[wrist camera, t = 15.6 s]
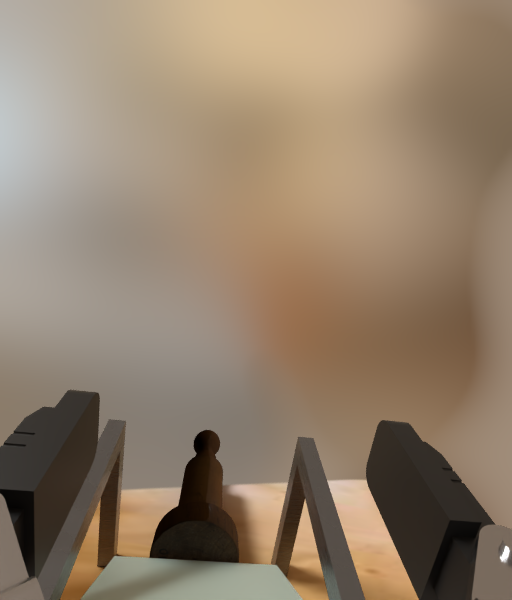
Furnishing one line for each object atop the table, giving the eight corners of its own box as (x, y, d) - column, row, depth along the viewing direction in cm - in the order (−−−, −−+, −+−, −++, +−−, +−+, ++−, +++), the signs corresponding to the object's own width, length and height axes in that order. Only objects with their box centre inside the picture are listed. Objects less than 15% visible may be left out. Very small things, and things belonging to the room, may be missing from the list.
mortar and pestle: (212, 611, 30) (218, 471, 48) (254, 544, 29) (245, 427, 47) (133, 577, 29) (170, 447, 47) (175, 507, 28) (196, 402, 46)
